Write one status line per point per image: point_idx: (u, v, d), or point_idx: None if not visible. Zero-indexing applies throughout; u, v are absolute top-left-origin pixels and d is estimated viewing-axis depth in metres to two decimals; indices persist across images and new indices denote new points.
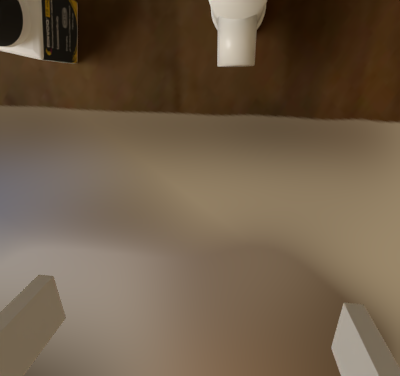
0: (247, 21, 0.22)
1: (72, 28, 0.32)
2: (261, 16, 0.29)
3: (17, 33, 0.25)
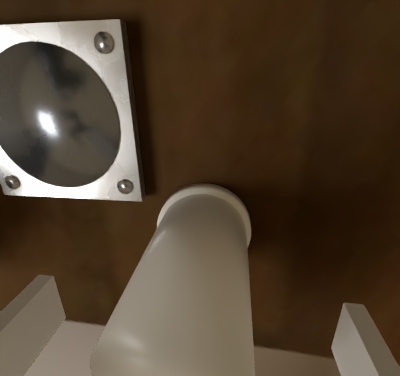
0: None
1: None
2: None
3: None
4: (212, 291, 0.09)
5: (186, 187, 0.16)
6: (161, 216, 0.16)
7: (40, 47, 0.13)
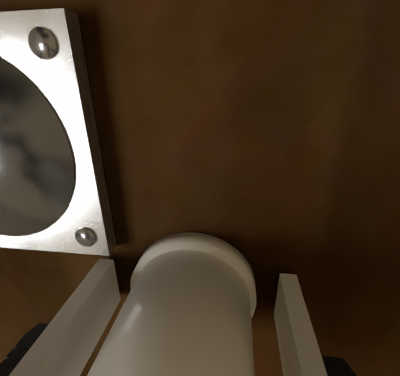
0: None
1: None
2: None
3: None
4: None
5: (169, 238, 0.12)
6: (135, 276, 0.12)
7: None
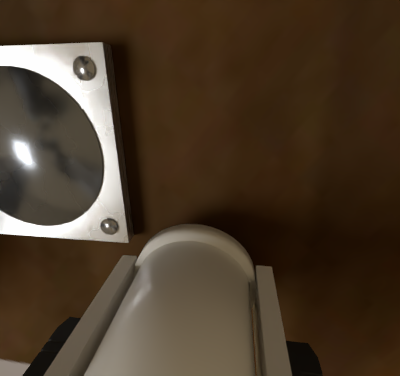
0: None
1: None
2: None
3: None
4: None
5: (170, 229, 0.12)
6: (138, 266, 0.13)
7: (13, 73, 0.12)
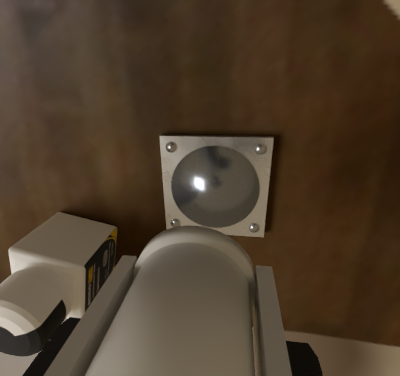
0: None
1: (111, 255, 0.28)
2: None
3: (59, 325, 0.22)
4: None
5: (170, 231, 0.12)
6: (137, 268, 0.12)
7: (220, 149, 0.22)
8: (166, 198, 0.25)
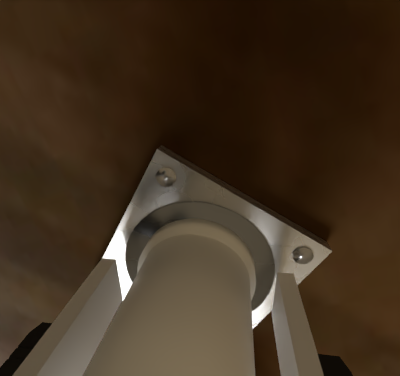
0: None
1: None
2: None
3: None
4: None
5: (174, 224, 0.13)
6: (142, 259, 0.13)
7: (139, 230, 0.14)
8: None
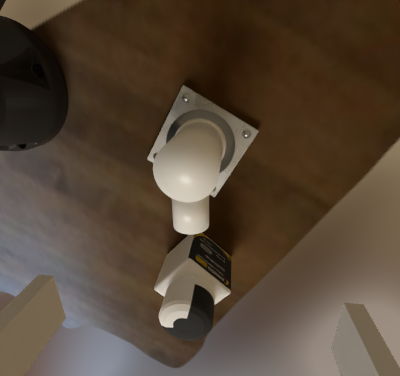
0: (197, 201, 0.23)
1: (211, 245, 0.35)
2: (221, 154, 0.30)
3: (212, 301, 0.29)
4: (202, 138, 0.22)
5: (189, 120, 0.29)
6: None
7: (173, 125, 0.30)
8: None
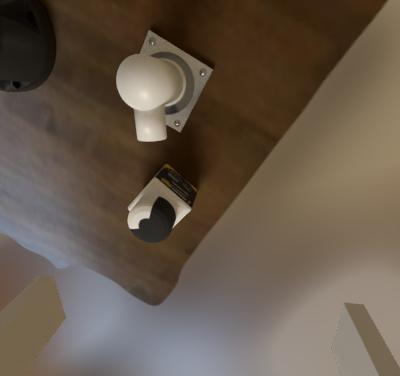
0: (152, 111, 0.28)
1: (179, 177, 0.41)
2: (182, 89, 0.35)
3: (173, 211, 0.35)
4: (155, 58, 0.28)
5: None
6: None
7: None
8: None
